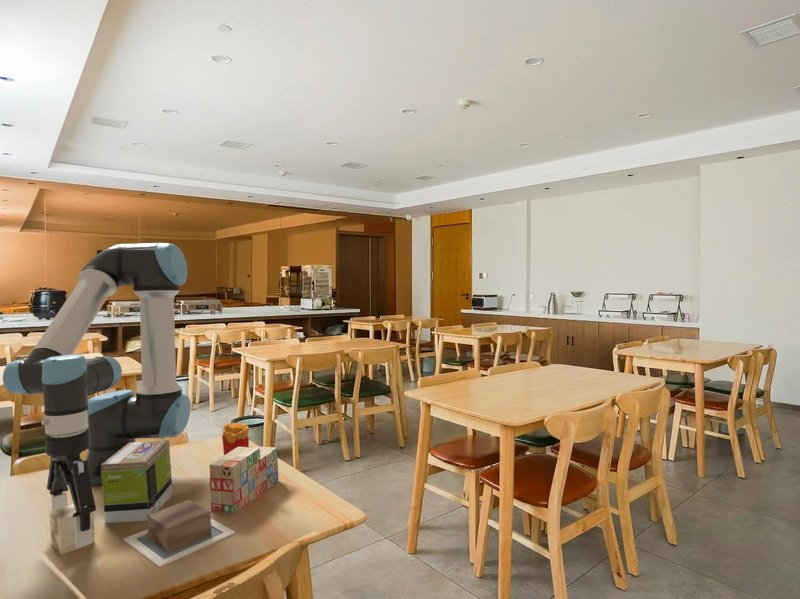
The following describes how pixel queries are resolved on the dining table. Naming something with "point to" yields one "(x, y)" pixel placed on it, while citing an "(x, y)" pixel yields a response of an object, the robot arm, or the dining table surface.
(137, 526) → the dining table surface
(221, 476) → the stack of blocks
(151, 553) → the board
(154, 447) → the tea box
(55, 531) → the beech brick
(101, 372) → the robot arm
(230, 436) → the french fries
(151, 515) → the walnut base block
